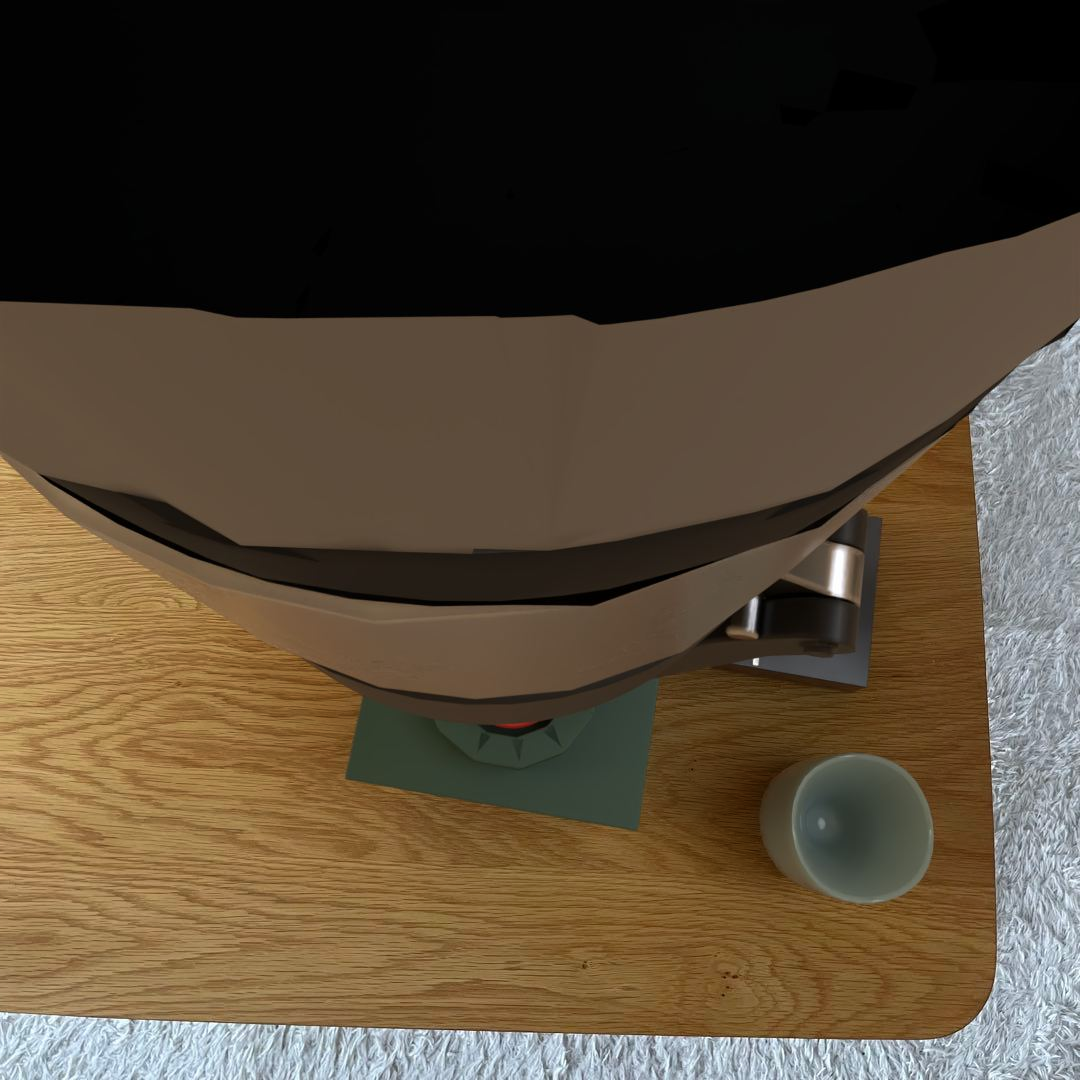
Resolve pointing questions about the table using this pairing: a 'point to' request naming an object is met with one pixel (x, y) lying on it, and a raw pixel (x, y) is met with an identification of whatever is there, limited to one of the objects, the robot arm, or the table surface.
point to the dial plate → (841, 668)
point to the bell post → (517, 759)
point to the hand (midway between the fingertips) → (505, 653)
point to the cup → (848, 827)
